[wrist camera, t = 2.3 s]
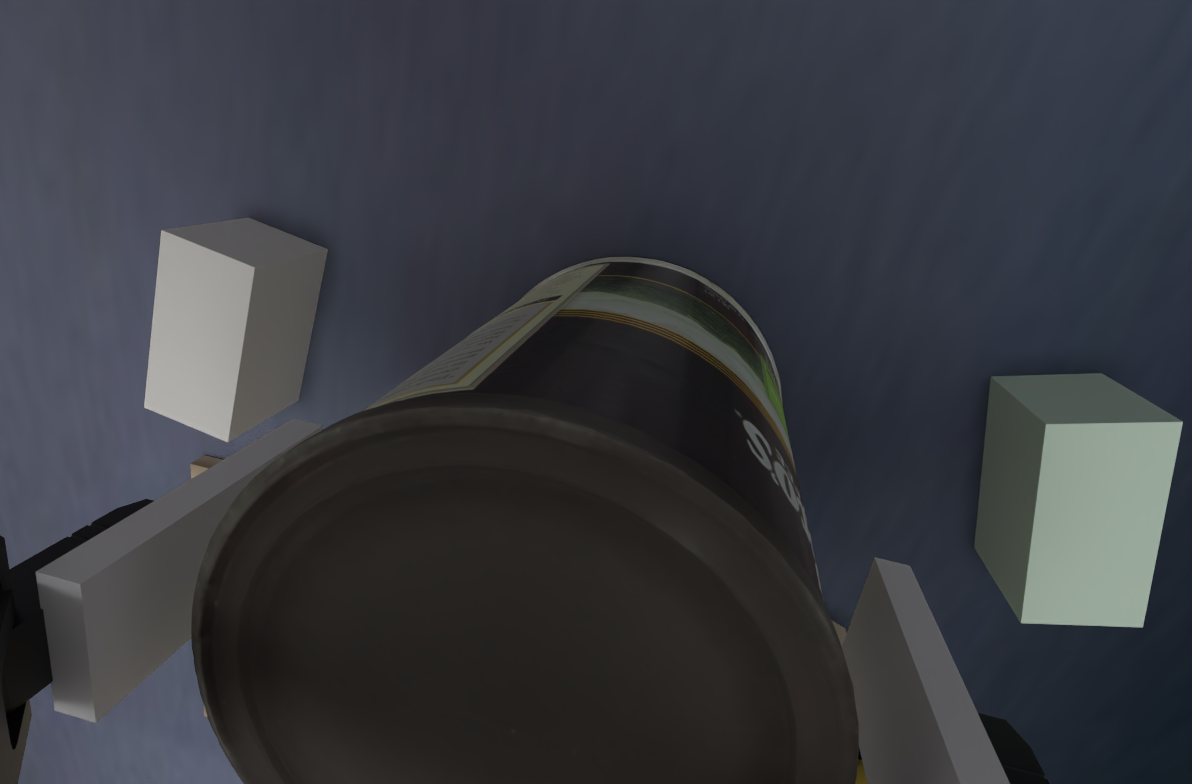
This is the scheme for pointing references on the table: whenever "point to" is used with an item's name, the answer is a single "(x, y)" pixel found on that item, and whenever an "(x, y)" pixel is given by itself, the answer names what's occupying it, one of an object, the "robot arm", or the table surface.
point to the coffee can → (538, 565)
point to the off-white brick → (231, 324)
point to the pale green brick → (1074, 497)
